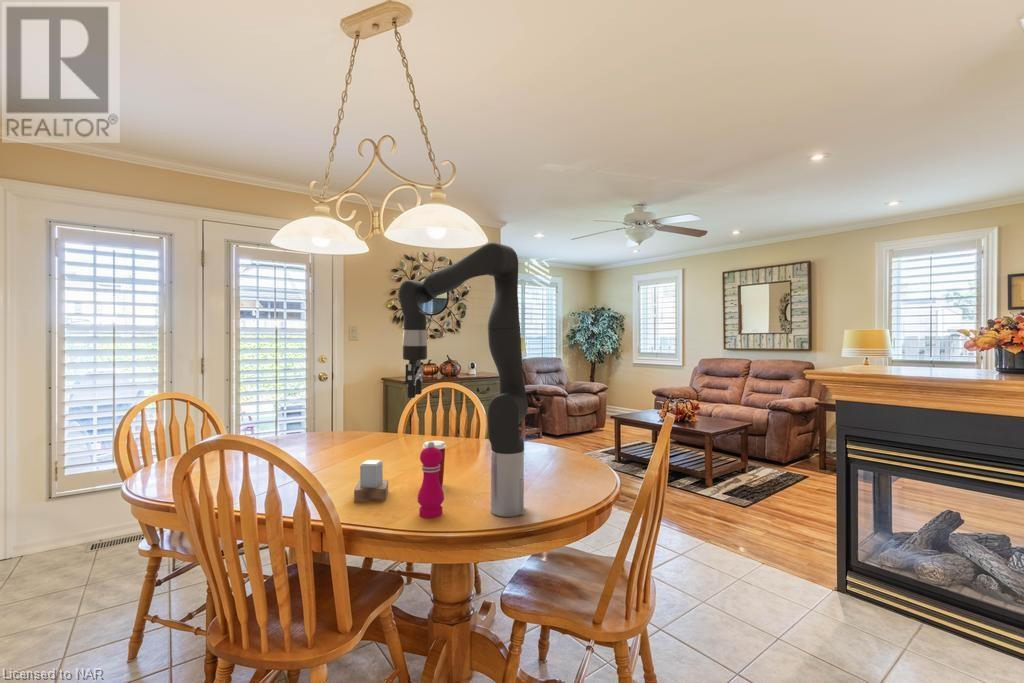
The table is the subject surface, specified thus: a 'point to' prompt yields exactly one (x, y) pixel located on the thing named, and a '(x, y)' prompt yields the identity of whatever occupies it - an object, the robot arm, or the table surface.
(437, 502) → the pepper mill
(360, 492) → the walnut block
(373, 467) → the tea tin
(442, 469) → the paper cup
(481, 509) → the table surface
